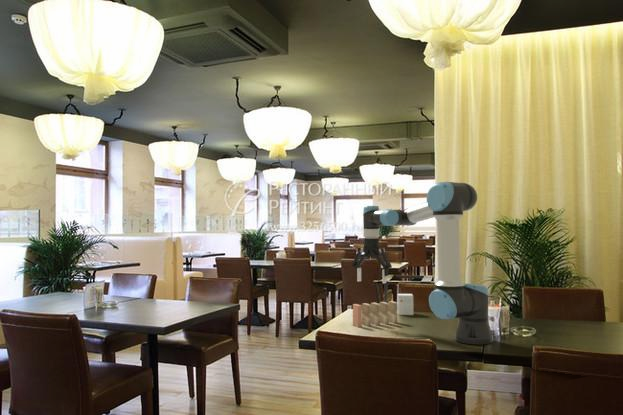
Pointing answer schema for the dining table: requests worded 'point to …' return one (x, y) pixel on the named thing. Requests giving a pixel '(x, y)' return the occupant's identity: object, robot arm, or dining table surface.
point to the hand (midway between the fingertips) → (371, 282)
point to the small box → (405, 304)
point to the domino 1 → (357, 315)
